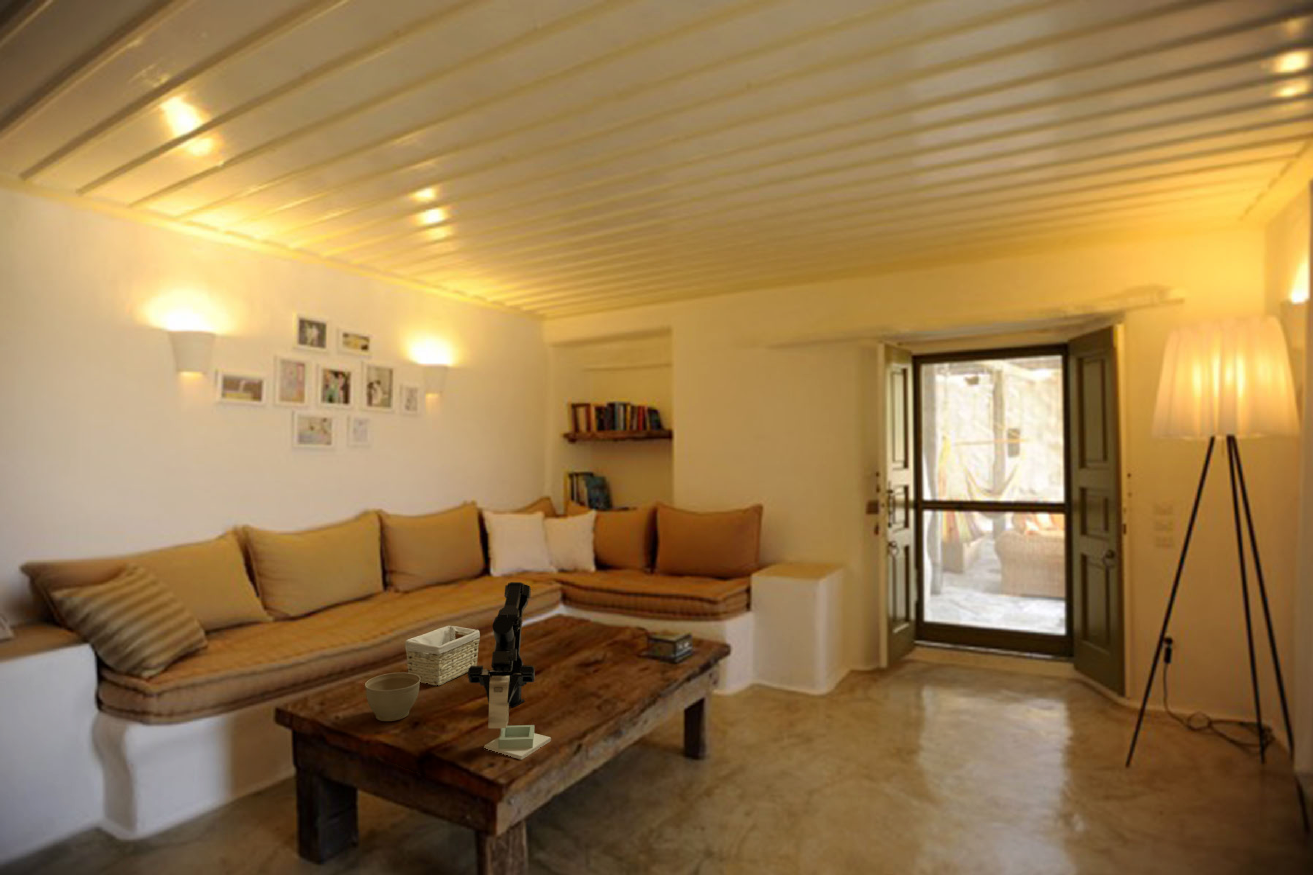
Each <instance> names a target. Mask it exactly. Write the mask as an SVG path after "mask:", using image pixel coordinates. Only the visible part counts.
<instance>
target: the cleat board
mask: <svg viewBox="0 0 1313 875" xmlns="http://www.w3.org/2000/svg"><path fill="white" fill-rule="evenodd" d="M551 741H552V737H550V736H548V735H547V736H546V735H544V734H543V735H542V734H538V733H535V724H528V725H527V724H525V725H524V724H522V725H519V724H518V725H507V728H500V732H499V736H498V737H497V738H495V739H493V740H492V741H490V742H488V743H486V744H485V745H484V746H483V749H484V748H486V749H488V750H487V751H489V750H492V751H495V752H494V753H496V752H498V753H497V754H499V753H502V754H501V755H503V754H504V756H506V755H508V756H507V757H510V756H511V758H514V759H517V760H520V761H523V760H524V759H526V757H529V756H530V755H531V754H533V753H534V752H536V751H537V750H539V749H541V748H542V747H544V746H545V745H546V744H548V743H550V742H551ZM540 747H541V748H540ZM492 751H491V752H492Z"/></svg>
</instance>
